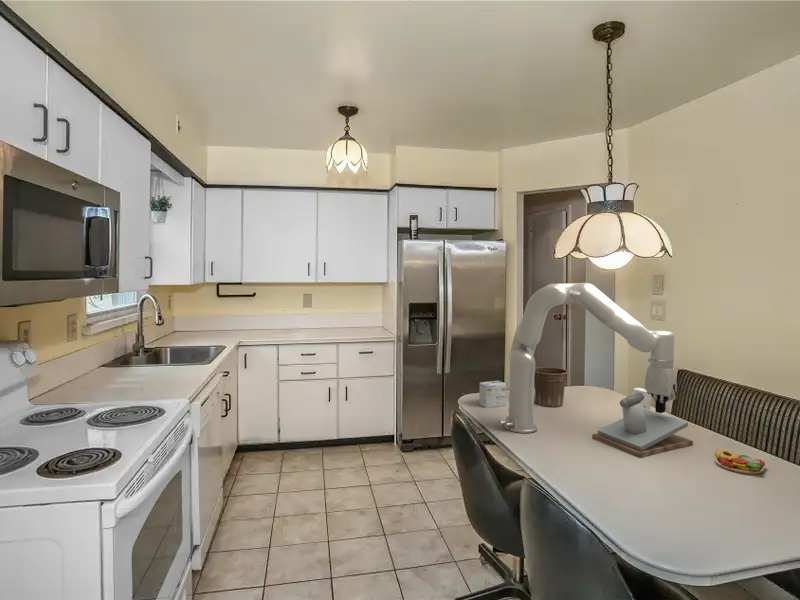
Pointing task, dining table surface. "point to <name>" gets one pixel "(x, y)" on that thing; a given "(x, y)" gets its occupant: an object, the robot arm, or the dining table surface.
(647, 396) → the skincare box
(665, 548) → the dining table surface
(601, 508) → the dining table surface
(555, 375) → the plant pot
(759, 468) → the toy food set
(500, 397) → the light bulb box
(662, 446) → the walnut base
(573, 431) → the dining table surface
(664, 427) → the tilting top
